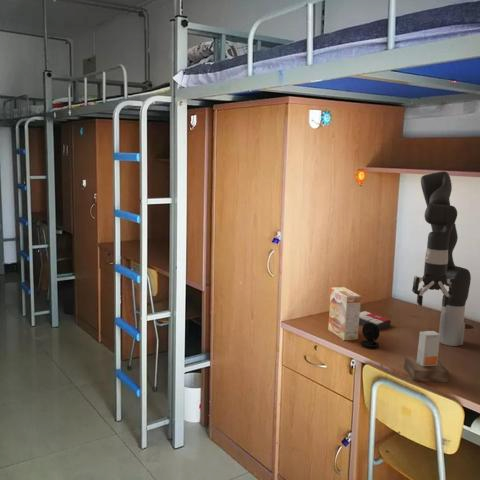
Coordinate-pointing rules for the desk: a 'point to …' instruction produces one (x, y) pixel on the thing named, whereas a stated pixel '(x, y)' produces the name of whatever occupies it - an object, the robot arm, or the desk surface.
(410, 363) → the walnut base
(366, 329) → the webcam
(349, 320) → the coffeecake box
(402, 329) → the desk surface
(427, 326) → the desk surface
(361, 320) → the red and white box
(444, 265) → the robot arm
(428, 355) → the skincare box
